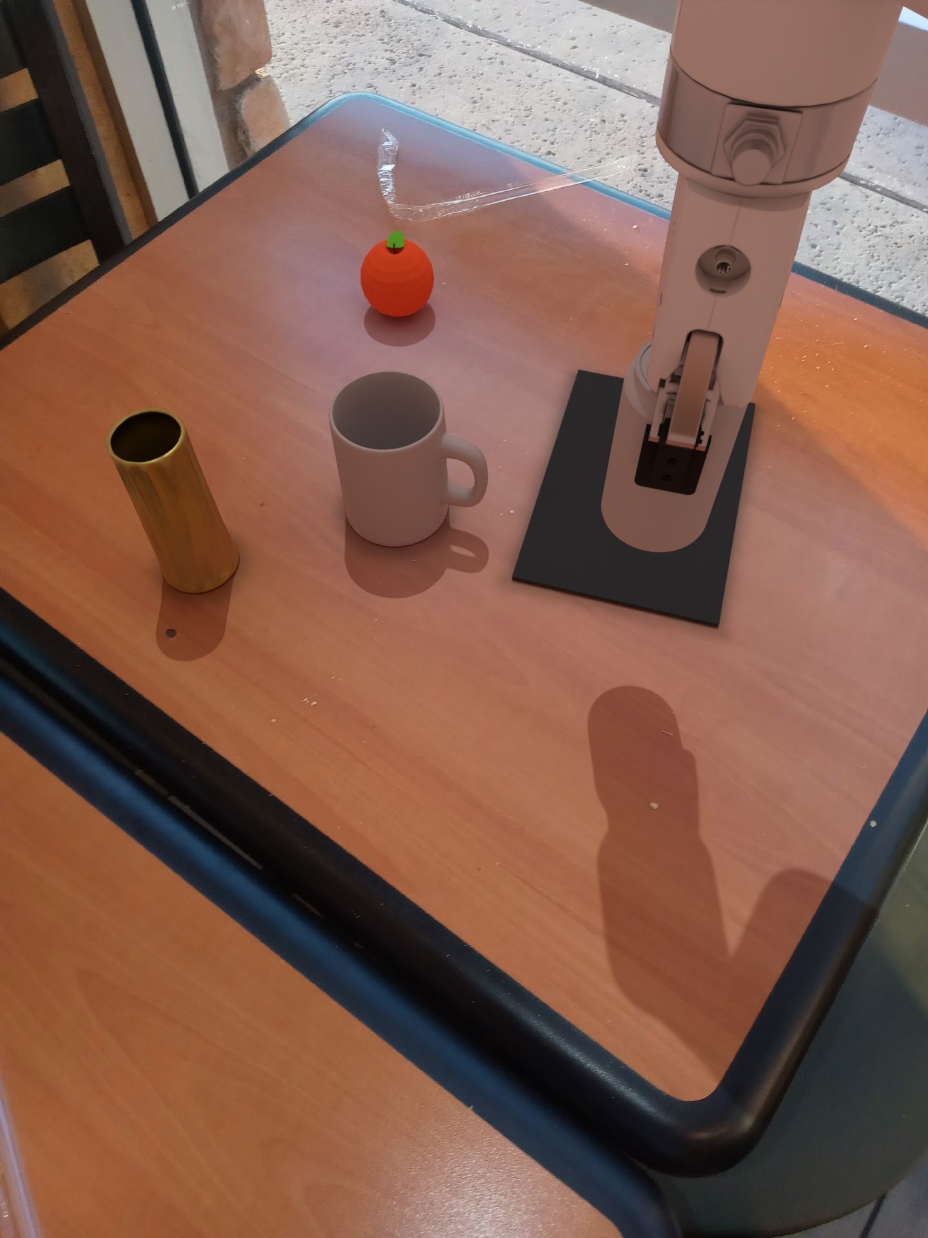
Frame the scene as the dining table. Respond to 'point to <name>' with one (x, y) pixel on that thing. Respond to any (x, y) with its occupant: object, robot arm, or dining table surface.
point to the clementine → (397, 276)
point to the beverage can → (653, 512)
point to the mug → (398, 458)
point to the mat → (587, 549)
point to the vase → (172, 499)
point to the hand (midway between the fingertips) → (674, 435)
